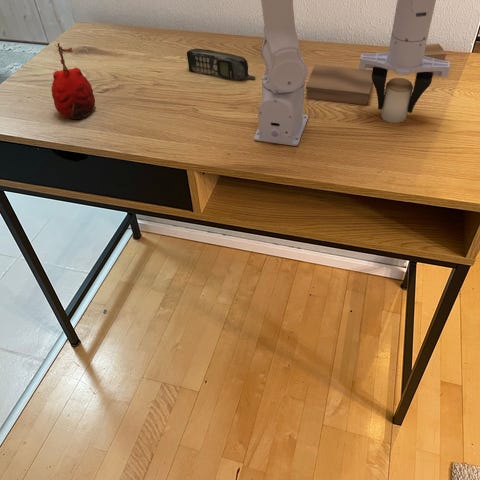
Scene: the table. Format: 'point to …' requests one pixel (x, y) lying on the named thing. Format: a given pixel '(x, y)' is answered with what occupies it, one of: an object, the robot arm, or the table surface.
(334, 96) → the wooden brick
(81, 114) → the red bumpy rounded piece
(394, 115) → the stoneware jar
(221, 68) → the mobile phone
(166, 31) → the table surface
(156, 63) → the table surface
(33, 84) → the table surface
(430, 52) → the walnut block
